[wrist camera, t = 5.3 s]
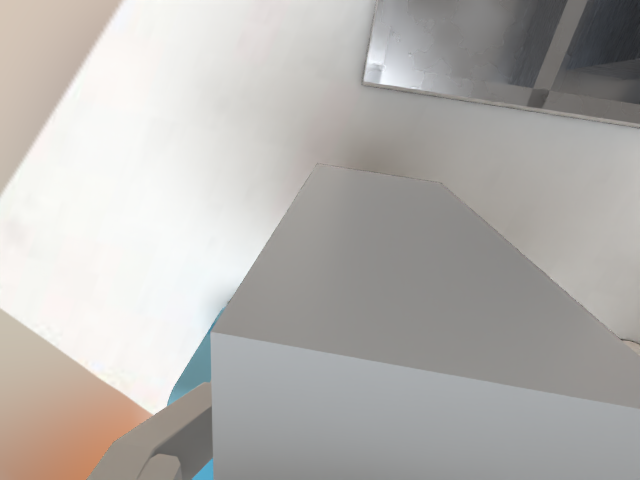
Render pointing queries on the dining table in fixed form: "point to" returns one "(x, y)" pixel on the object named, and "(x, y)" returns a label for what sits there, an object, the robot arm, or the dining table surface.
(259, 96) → the dining table surface
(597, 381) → the light grey block
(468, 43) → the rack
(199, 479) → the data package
